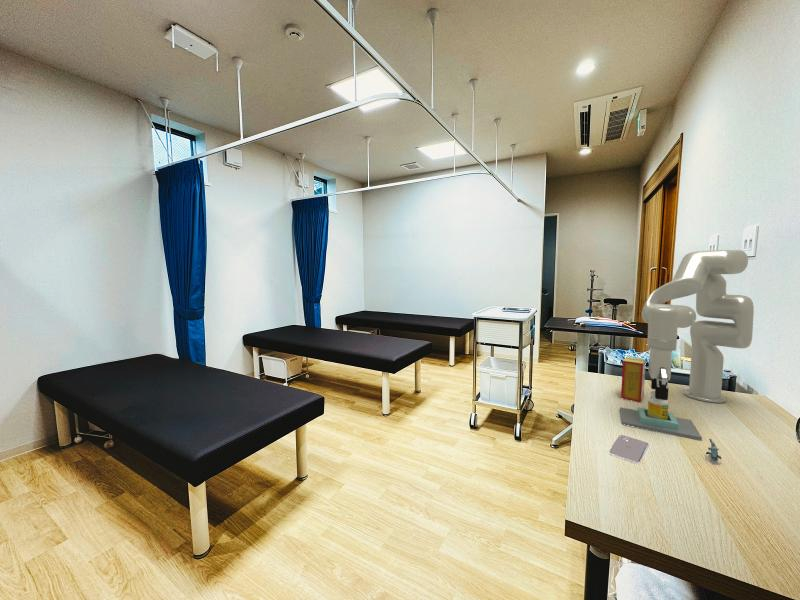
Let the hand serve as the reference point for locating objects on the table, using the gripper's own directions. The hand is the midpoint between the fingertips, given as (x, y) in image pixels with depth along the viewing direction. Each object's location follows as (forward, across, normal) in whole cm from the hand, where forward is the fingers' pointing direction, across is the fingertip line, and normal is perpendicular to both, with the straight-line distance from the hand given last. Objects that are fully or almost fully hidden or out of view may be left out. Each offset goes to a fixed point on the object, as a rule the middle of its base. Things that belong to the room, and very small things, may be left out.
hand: (659, 394), depth 109 cm
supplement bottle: (+9, 0, 0) cm, 9 cm away
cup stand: (+10, +1, 0) cm, 10 cm away
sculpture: (+11, +20, +10) cm, 25 cm away
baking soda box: (+11, -24, -5) cm, 27 cm away
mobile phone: (+10, +25, -10) cm, 29 cm away
